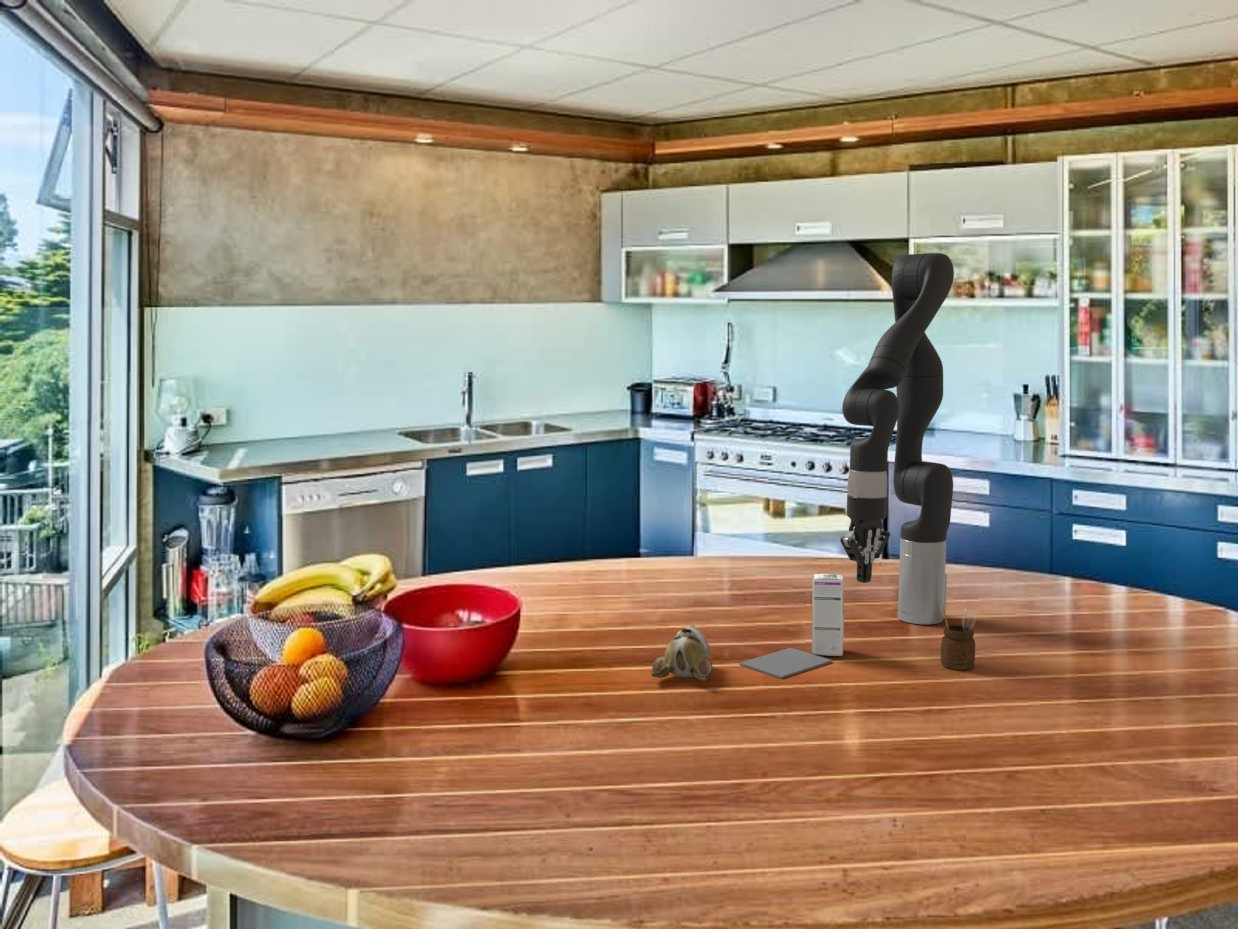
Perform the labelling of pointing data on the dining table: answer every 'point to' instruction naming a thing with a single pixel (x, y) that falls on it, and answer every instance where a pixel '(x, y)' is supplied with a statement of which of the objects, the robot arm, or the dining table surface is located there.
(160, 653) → the dining table surface
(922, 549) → the robot arm
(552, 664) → the dining table surface
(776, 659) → the mat
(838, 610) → the syrup box
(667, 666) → the ceramic sculpture
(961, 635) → the utensil holder
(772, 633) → the dining table surface
